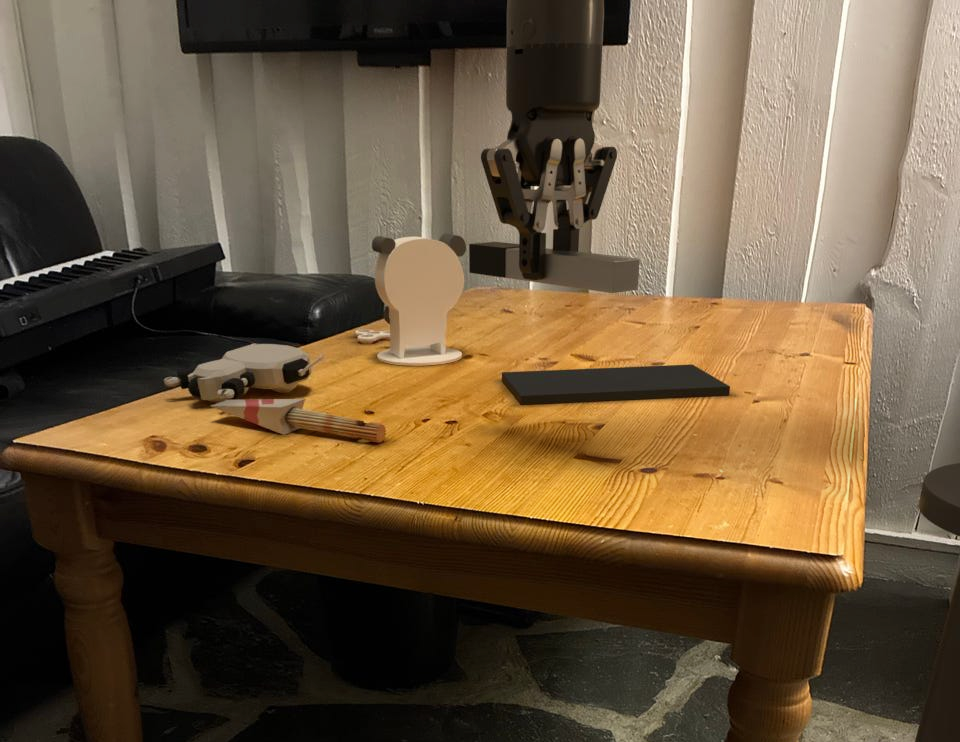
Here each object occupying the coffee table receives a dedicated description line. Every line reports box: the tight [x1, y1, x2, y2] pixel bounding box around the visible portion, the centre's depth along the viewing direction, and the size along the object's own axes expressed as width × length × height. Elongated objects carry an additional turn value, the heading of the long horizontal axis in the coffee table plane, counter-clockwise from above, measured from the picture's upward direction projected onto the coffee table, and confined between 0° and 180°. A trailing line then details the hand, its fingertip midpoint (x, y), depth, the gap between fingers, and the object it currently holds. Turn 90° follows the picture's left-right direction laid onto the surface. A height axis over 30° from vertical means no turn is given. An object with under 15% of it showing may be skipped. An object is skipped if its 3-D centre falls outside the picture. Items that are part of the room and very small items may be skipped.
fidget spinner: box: [354, 329, 390, 343], centre depth 137 cm, size 7×6×1 cm
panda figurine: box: [371, 233, 467, 367], centre depth 122 cm, size 12×11×15 cm
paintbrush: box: [210, 398, 387, 444], centre depth 93 cm, size 4×3×20 cm
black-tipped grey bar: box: [468, 241, 641, 294], centre depth 81 cm, size 18×3×2 cm, turn 40°
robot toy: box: [163, 343, 325, 404], centre depth 106 cm, size 12×4×15 cm
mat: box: [501, 364, 731, 406], centre depth 109 cm, size 24×12×1 cm, turn 99°
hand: (548, 276), depth 81 cm, fingers closed on black-tipped grey bar, 3 cm apart
